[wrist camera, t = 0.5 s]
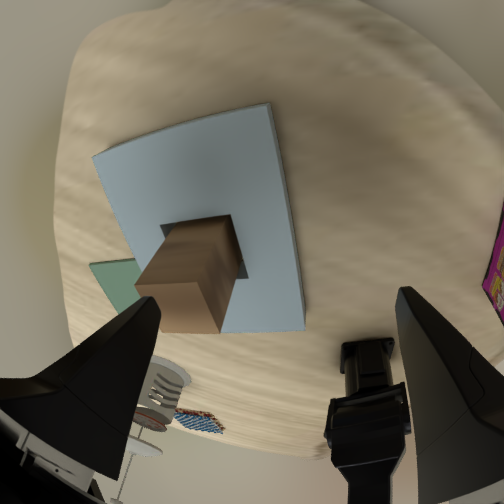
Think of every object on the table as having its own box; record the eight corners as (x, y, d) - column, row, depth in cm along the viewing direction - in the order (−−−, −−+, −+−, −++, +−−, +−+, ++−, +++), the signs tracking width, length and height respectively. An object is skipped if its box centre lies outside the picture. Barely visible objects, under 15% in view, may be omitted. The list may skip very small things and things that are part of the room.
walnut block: (243, 254, 25) (220, 333, 18) (197, 258, 26) (162, 332, 19) (230, 208, 23) (197, 282, 15) (181, 216, 24) (133, 285, 16)
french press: (163, 387, 45) (123, 505, 25) (117, 350, 40) (60, 479, 20) (203, 385, 42) (164, 524, 21) (154, 343, 36) (91, 503, 16)
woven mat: (212, 410, 49) (210, 418, 47) (227, 427, 55) (225, 435, 53) (167, 403, 52) (165, 411, 50) (186, 421, 57) (184, 428, 56)
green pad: (180, 318, 32) (179, 321, 32) (123, 317, 34) (122, 319, 34) (148, 256, 27) (147, 259, 27) (90, 263, 29) (88, 265, 29)
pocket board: (305, 311, 28) (305, 330, 26) (182, 315, 31) (175, 332, 29) (270, 102, 17) (266, 105, 15) (108, 148, 21) (91, 157, 19)
